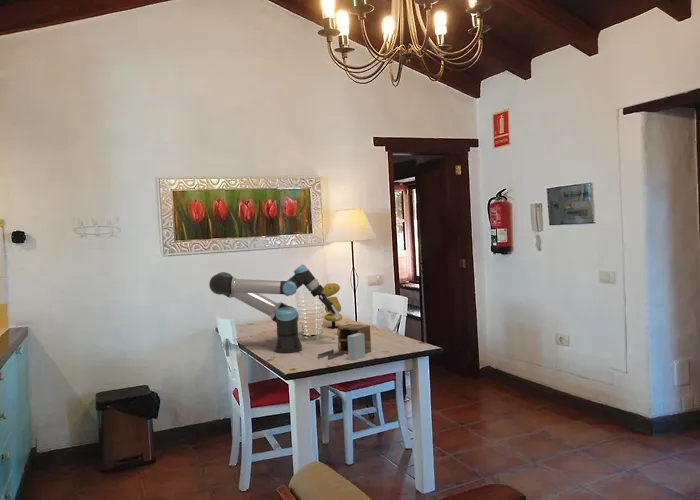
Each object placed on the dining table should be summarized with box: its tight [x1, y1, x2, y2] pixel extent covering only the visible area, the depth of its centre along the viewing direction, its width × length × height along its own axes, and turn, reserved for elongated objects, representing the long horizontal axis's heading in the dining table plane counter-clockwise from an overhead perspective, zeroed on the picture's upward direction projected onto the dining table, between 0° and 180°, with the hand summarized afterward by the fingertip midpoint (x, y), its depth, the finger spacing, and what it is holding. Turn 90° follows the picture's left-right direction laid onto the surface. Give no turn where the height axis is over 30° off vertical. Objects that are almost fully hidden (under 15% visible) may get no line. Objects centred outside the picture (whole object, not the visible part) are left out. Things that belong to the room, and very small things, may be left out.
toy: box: [322, 282, 343, 330], centre depth 385 cm, size 16×12×30 cm
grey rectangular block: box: [347, 333, 366, 362], centre depth 291 cm, size 4×9×12 cm, turn 144°
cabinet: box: [317, 323, 372, 360], centre depth 300 cm, size 17×24×14 cm
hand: (337, 316), depth 333 cm, fingers open, 13 cm apart
